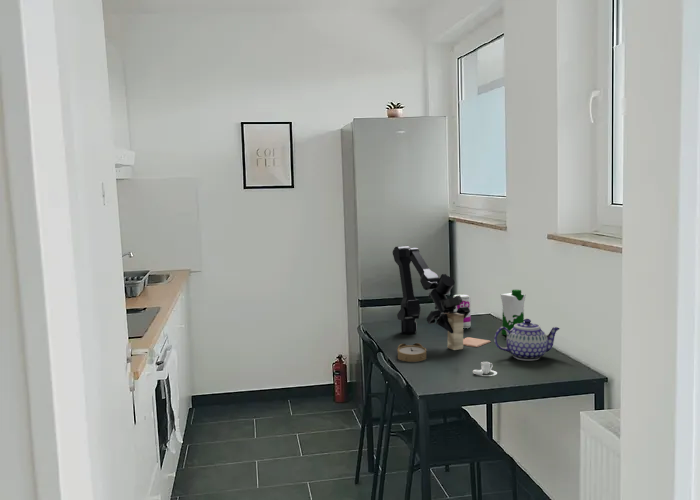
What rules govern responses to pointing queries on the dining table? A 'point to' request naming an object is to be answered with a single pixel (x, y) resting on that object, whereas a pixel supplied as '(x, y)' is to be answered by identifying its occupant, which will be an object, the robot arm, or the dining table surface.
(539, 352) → the teapot
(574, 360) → the dining table surface
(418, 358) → the alarm clock
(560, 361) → the dining table surface
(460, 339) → the ash post
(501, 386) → the dining table surface
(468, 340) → the terracotta tile
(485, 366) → the teacup and saucer
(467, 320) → the supplement can
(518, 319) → the milk carton
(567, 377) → the dining table surface
